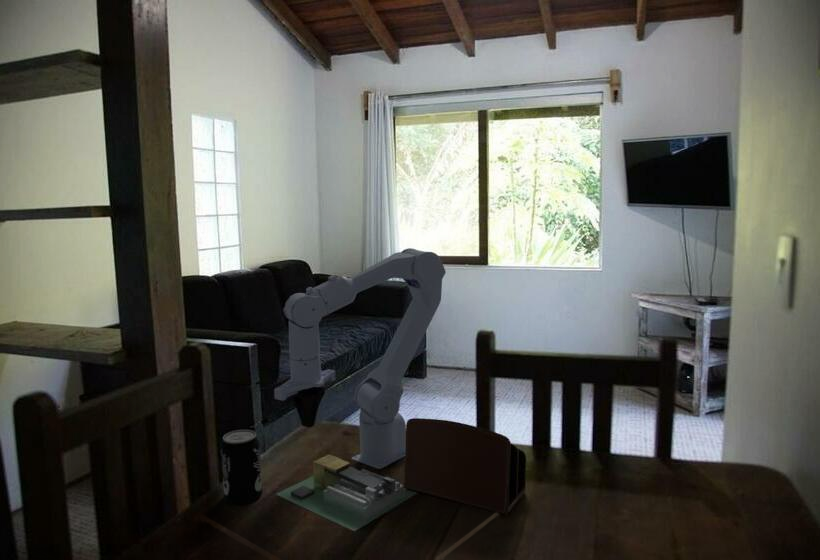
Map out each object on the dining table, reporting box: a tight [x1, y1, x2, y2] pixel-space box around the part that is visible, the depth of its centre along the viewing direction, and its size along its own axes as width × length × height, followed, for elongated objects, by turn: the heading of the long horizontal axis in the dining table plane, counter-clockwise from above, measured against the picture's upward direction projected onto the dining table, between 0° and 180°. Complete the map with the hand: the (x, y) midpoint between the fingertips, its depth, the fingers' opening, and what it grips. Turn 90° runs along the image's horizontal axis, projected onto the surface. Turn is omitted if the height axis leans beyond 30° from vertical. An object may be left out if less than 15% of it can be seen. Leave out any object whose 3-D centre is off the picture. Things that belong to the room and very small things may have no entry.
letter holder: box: [403, 417, 527, 516], centre depth 112 cm, size 10×20×14 cm, turn 61°
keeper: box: [312, 454, 351, 491], centre depth 114 cm, size 4×6×5 cm
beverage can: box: [220, 429, 263, 506], centre depth 111 cm, size 7×7×12 cm
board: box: [275, 465, 418, 532], centre depth 112 cm, size 16×20×1 cm
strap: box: [328, 466, 388, 493], centre depth 110 cm, size 3×12×1 cm, turn 50°
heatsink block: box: [323, 468, 405, 522], centre depth 109 cm, size 10×10×4 cm
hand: (308, 425), depth 120 cm, fingers closed
